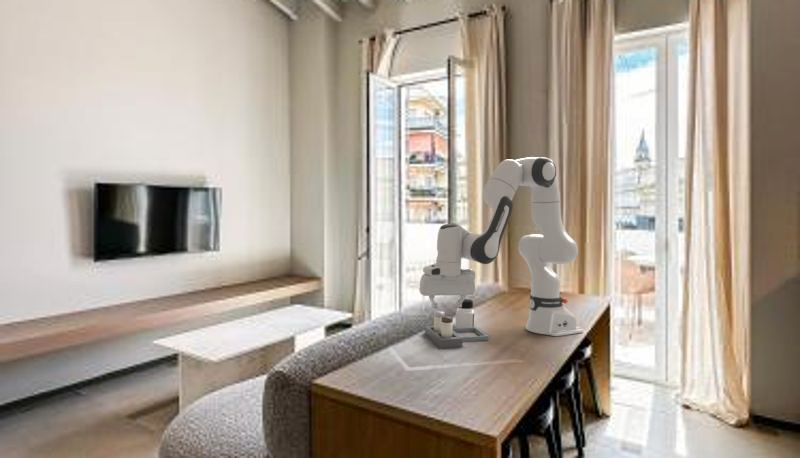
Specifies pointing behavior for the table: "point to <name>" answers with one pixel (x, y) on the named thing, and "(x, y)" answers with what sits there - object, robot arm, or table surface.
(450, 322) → the cylinder
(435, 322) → the dome-capped cream cylinder
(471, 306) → the medicine bottle
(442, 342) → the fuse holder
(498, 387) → the table surface
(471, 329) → the parts tray
